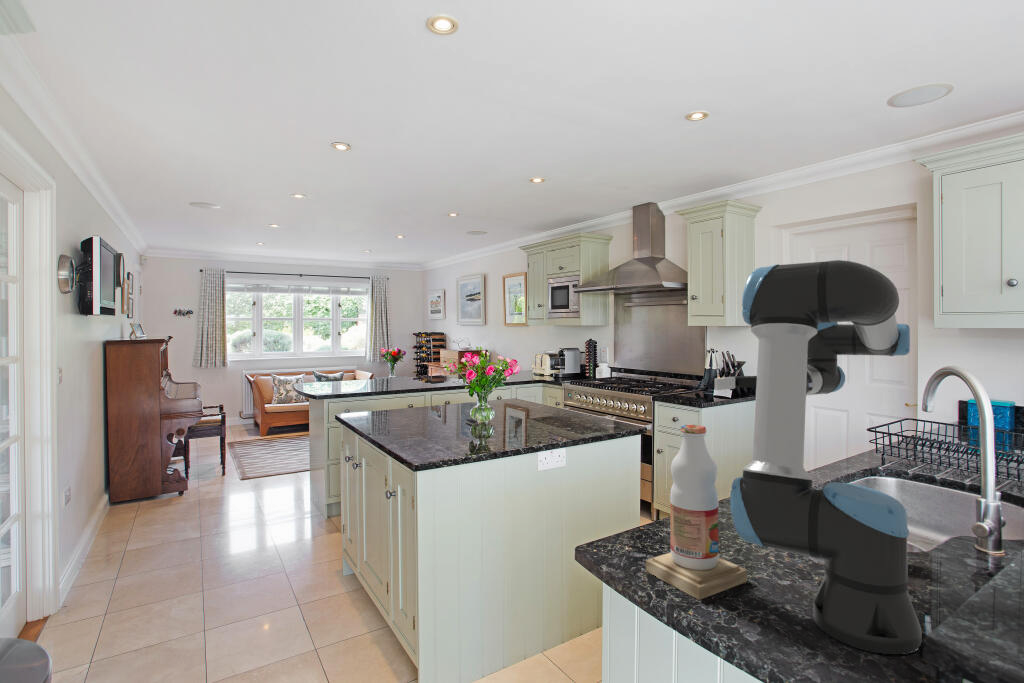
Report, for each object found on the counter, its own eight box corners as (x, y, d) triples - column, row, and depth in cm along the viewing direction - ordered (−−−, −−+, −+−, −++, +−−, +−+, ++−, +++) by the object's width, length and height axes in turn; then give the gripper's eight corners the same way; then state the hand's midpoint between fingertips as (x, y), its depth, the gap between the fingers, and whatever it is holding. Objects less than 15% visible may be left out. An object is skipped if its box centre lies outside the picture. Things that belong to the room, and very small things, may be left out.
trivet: (747, 581, 106) (746, 566, 106) (699, 600, 99) (699, 584, 99) (691, 556, 118) (691, 543, 118) (645, 571, 111) (645, 557, 111)
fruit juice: (666, 551, 114) (665, 422, 113) (711, 552, 113) (710, 422, 112) (676, 570, 104) (675, 430, 104) (725, 572, 103) (724, 430, 103)
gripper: (850, 401, 118) (794, 409, 107) (751, 391, 140) (696, 397, 129) (850, 368, 118) (794, 373, 107) (751, 363, 140) (696, 367, 129)
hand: (740, 386), depth 118 cm, fingers open, 13 cm apart
